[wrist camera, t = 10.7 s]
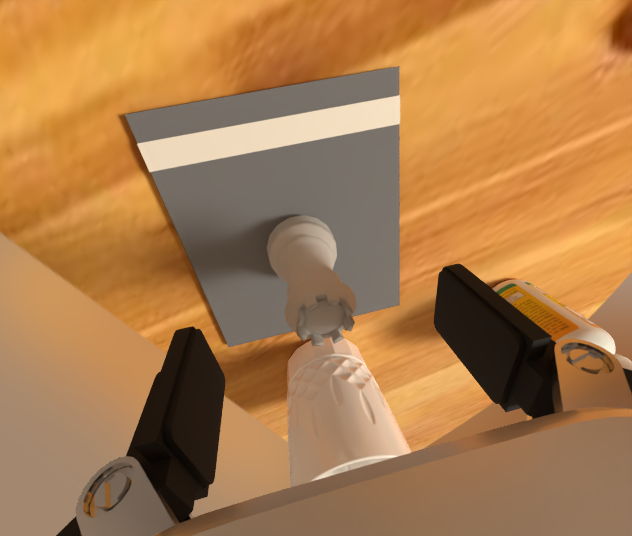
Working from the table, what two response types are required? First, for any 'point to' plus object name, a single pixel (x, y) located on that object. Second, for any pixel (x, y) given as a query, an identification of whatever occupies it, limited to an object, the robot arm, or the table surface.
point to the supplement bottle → (555, 316)
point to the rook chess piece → (311, 279)
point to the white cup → (336, 413)
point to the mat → (281, 189)
